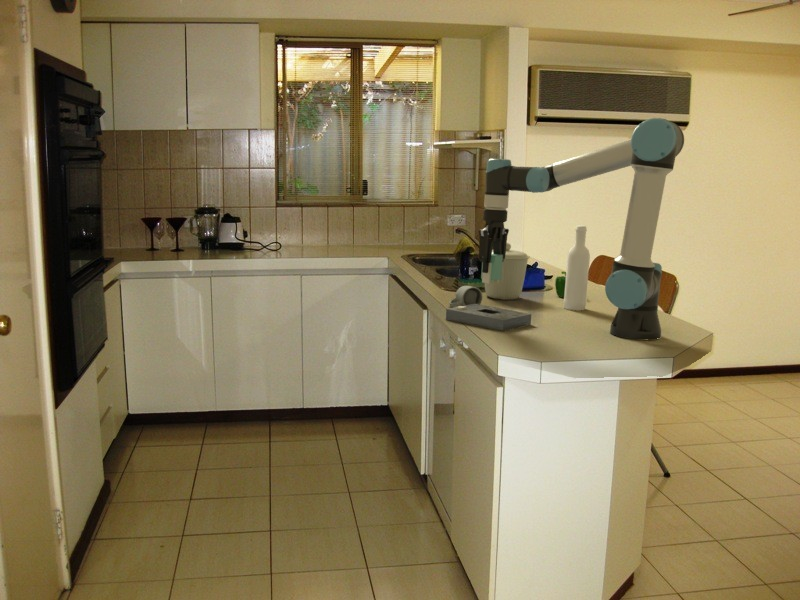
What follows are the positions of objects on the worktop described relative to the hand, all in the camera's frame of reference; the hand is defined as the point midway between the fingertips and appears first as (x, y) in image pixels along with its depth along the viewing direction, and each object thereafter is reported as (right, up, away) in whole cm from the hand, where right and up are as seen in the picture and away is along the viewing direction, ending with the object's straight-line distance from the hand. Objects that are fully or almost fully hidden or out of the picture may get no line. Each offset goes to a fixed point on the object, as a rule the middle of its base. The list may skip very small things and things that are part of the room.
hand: (490, 282), depth 251 cm
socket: (-1, -13, +2) cm, 13 cm away
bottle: (+34, -9, +34) cm, 49 cm away
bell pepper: (+36, -5, +59) cm, 69 cm away
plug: (0, 0, 0) cm, 0 cm away
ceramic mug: (-6, -8, +27) cm, 29 cm away
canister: (+11, -5, +50) cm, 52 cm away
